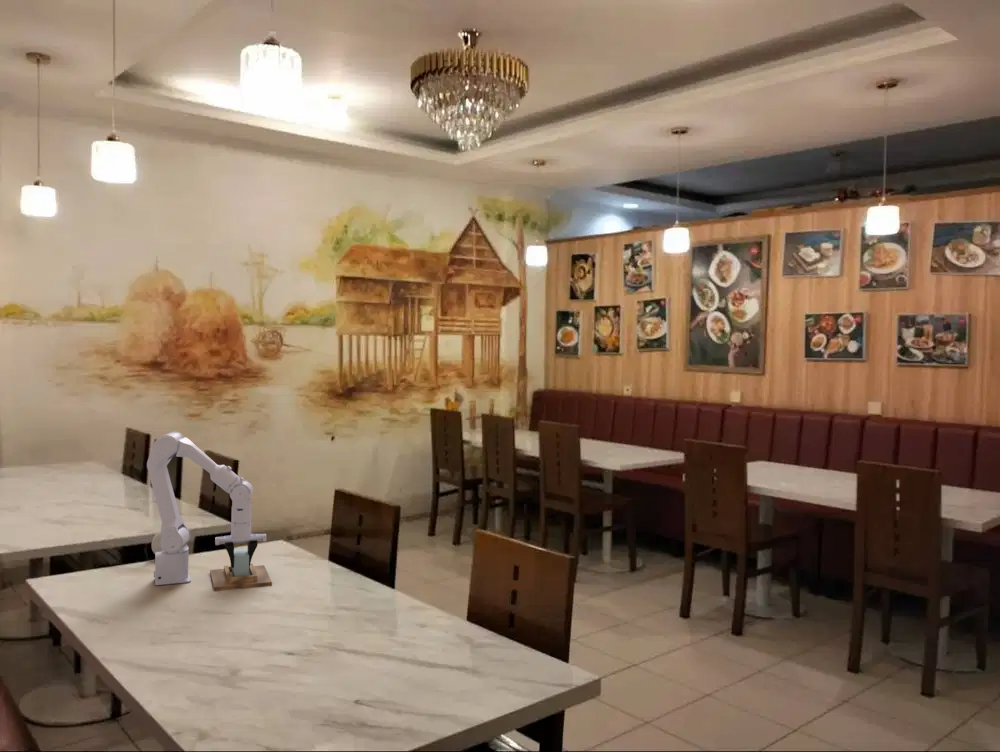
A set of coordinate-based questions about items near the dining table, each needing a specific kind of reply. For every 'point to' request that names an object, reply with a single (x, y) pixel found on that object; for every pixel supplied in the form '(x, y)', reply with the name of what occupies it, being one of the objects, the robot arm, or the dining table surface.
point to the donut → (157, 542)
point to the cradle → (239, 578)
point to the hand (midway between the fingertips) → (240, 566)
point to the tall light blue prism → (241, 563)
